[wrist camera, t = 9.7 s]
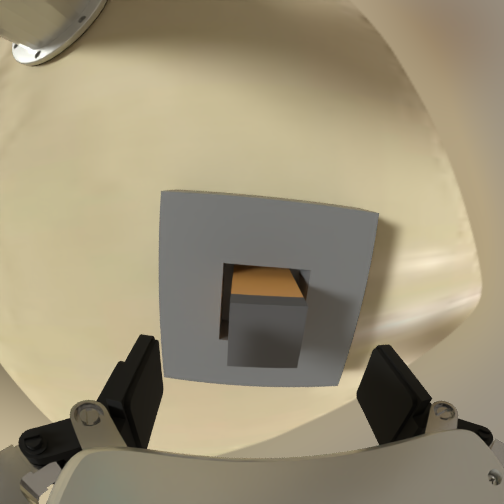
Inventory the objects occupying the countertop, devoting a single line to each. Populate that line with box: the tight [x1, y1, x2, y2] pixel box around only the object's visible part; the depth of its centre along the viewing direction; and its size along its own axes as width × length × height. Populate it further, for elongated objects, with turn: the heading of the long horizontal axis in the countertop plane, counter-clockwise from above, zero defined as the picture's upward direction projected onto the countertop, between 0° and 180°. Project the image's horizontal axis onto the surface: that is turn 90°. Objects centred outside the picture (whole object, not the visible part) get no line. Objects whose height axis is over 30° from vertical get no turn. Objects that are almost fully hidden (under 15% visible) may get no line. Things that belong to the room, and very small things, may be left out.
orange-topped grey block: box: [227, 264, 308, 368], centre depth 18 cm, size 4×4×7 cm
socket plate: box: [159, 190, 379, 387], centre depth 20 cm, size 14×14×4 cm
